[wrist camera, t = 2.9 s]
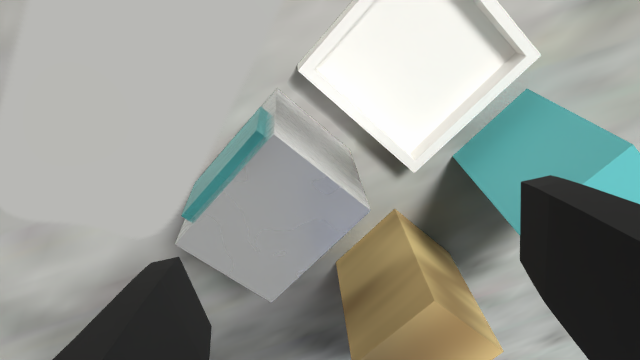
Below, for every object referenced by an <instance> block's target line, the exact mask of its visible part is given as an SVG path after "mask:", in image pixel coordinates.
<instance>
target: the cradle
mask: <svg viewBox="0 0 640 360" xmlns="http://www.w3.org/2000/svg"><path fill="white" fill-rule="evenodd" d="M540 56H541V54H540V53H539V52H538V50H537V49H536V48H535V47H534V46H533V44H532V43H531V42H530V41H529V39H528V38H527V37H526V36H525V34H524V33H523V32H522V31H521V29H520V28H519V27H518V26H517V25H516V23H515V22H514V21H513V20H512V18H511V17H510V16H509V15H508V13H507V12H506V11H505V10H504V9H503V7H502V6H501V5H500V4H499V2H498V1H497V0H353V1H352V2H351V3H350V4H349V5H348V7H347V8H346V9H345V10H344V11H343V12H342V14H341V15H340V16H339V17H338V18H337V19H336V20H335V22H334V23H333V24H332V25H331V26H330V27H329V29H328V30H327V31H326V32H325V33H324V34H323V36H322V37H321V38H320V39H319V40H318V41H317V43H316V44H315V45H314V46H313V47H312V48H311V50H310V51H309V52H308V53H307V54H306V55H305V56H304V58H303V59H302V60H301V61H300V62H299V63H298V65H297V66H298V71H299V72H300V73H301V74H302V75H303V76H305V77H306V78H307V79H308V80H309V81H310V82H311V83H312V84H314V85H315V86H316V87H317V88H318V89H319V90H320V91H322V92H323V93H324V94H325V95H326V96H327V97H328V98H330V99H331V100H332V101H333V102H334V103H335V104H336V105H337V106H339V107H340V108H341V109H342V110H343V111H344V112H345V113H347V114H348V115H349V116H350V117H351V118H352V119H353V120H355V121H356V122H357V123H358V124H359V125H360V126H361V127H362V128H364V129H365V130H366V131H367V132H368V133H369V134H370V135H372V136H373V137H374V138H375V139H376V140H377V141H378V142H379V143H381V144H382V145H383V146H384V147H385V148H386V149H387V150H389V151H390V152H391V153H392V154H393V155H394V156H395V157H397V158H398V159H399V160H400V161H401V162H402V163H403V164H404V165H406V166H407V167H408V168H409V169H410V170H411V171H412V172H414V173H415V172H416V171H417V170H418V169H419V168H420V167H421V166H422V165H423V164H424V163H426V162H427V161H428V160H429V159H430V158H431V157H432V156H433V155H434V154H435V153H436V152H437V151H438V150H440V149H441V148H442V147H443V146H444V145H445V144H446V143H447V142H448V141H449V140H450V139H451V138H453V137H454V136H455V135H456V134H457V133H458V132H459V131H460V130H461V129H462V128H463V127H464V126H465V125H467V124H468V123H469V122H470V121H471V120H472V119H473V118H474V117H475V116H476V115H477V114H478V113H479V112H481V111H482V110H483V109H484V108H485V107H486V106H487V105H488V104H489V103H490V102H491V101H492V100H494V99H495V98H496V97H497V96H498V95H499V94H500V93H501V92H502V91H503V90H504V89H505V88H506V87H508V86H509V85H510V84H511V83H512V82H513V81H514V80H515V79H516V78H517V77H518V76H519V75H521V74H522V73H523V72H524V71H525V70H526V69H527V68H528V67H529V66H530V65H531V64H532V63H533V62H535V61H536V60H537V59H538V58H539V57H540Z"/></svg>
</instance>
